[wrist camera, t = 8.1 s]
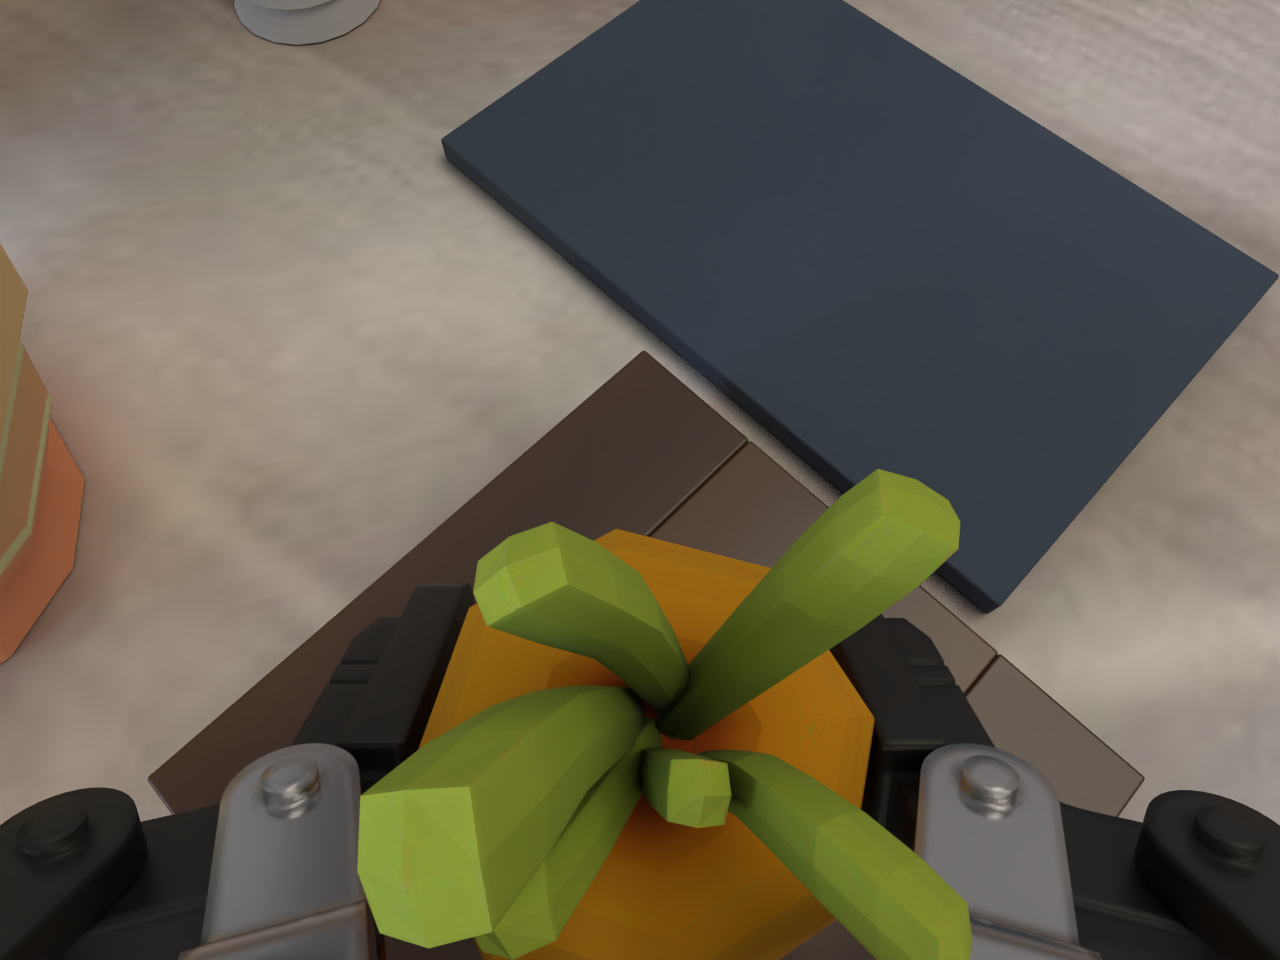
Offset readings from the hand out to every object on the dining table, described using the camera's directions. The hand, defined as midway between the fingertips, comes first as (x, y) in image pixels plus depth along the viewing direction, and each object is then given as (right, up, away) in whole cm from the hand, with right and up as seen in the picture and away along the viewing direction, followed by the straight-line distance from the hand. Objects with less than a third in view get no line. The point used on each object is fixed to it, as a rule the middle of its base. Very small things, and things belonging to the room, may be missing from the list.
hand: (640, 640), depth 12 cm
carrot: (0, -5, +6) cm, 8 cm away
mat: (+6, +10, +12) cm, 17 cm away
